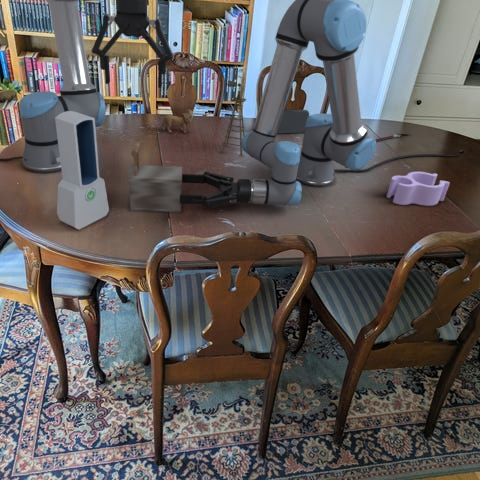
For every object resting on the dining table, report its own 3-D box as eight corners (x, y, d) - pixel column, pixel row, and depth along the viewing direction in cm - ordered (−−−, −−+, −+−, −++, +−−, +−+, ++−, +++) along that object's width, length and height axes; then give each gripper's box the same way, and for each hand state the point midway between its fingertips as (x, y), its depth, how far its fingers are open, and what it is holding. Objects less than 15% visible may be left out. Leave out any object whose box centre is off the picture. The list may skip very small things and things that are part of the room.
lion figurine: (191, 128, 201) (192, 107, 196) (194, 132, 197) (195, 111, 192) (157, 129, 196) (157, 108, 192) (160, 134, 192) (160, 112, 187)
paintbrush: (406, 132, 223) (406, 130, 222) (411, 134, 221) (412, 132, 220) (362, 144, 207) (363, 141, 206) (368, 146, 205) (368, 143, 204)
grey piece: (126, 180, 134) (125, 151, 129) (130, 167, 141) (129, 139, 136) (181, 183, 135) (182, 154, 130) (182, 170, 143) (183, 142, 138)
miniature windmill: (241, 156, 181) (249, 76, 164) (220, 152, 182) (226, 73, 165) (246, 147, 188) (254, 71, 172) (225, 144, 189) (231, 68, 173)
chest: (130, 210, 139) (129, 181, 134) (134, 195, 146) (133, 167, 141) (180, 212, 140) (181, 183, 135) (181, 198, 148) (182, 170, 143)
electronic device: (76, 231, 126) (63, 124, 110) (57, 222, 129) (42, 116, 113) (110, 214, 135) (103, 112, 119) (91, 206, 138) (82, 105, 122)
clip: (400, 208, 156) (406, 189, 152) (379, 191, 165) (384, 173, 162) (448, 203, 162) (455, 186, 158) (425, 187, 172) (431, 170, 168)
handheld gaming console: (303, 130, 212) (307, 109, 207) (306, 132, 210) (310, 111, 205) (256, 132, 205) (259, 109, 200) (259, 134, 203) (261, 111, 197)
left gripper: (74, -9, 108) (82, 84, 119) (183, 1, 110) (181, 91, 122) (81, -12, 114) (88, 77, 125) (184, -3, 117) (182, 84, 128)
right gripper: (253, 222, 134) (178, 220, 132) (245, 184, 155) (181, 181, 152) (256, 199, 130) (179, 196, 128) (247, 163, 151) (181, 159, 148)
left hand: (134, 84), depth 124 cm, fingers open, 13 cm apart
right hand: (180, 188), depth 140 cm, fingers open, 13 cm apart
